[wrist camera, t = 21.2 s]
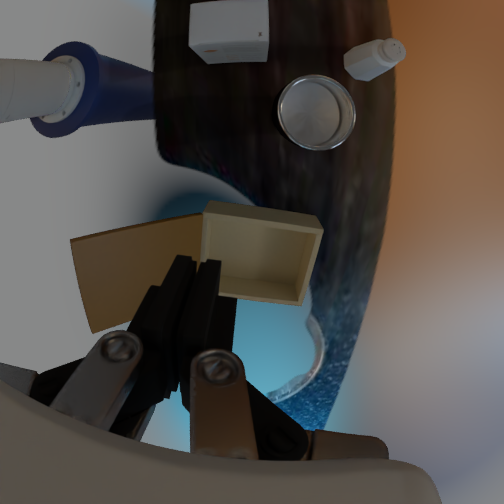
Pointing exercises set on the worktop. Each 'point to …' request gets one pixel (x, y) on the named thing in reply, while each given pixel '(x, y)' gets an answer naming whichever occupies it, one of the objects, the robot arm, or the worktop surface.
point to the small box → (230, 30)
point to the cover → (130, 265)
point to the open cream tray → (261, 251)
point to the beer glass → (314, 112)
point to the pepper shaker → (373, 58)
